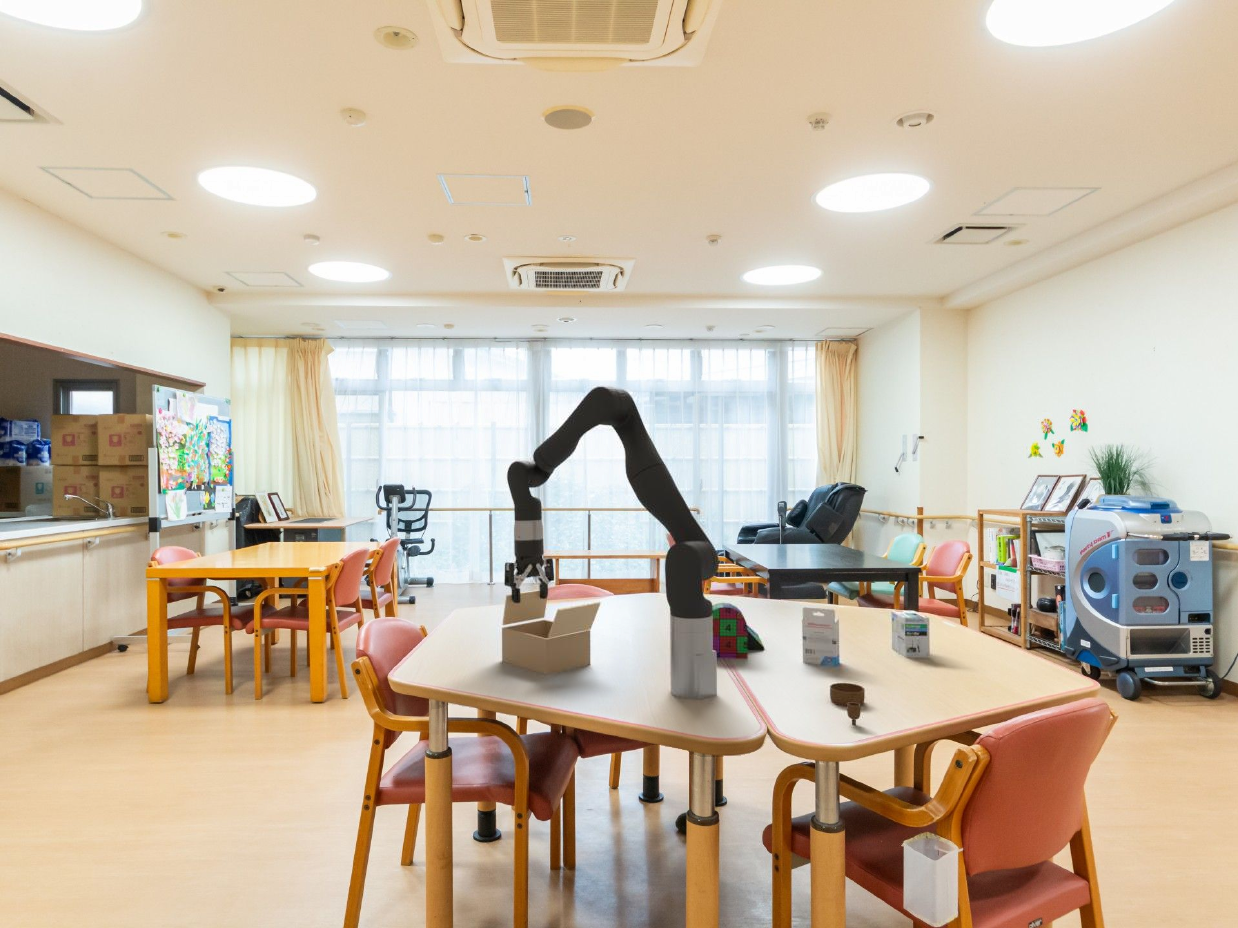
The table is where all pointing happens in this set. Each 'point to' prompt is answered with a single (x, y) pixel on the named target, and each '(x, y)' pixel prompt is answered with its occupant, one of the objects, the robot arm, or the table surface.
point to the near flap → (574, 619)
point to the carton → (544, 647)
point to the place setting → (848, 698)
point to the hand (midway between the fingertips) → (530, 600)
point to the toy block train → (732, 633)
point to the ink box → (820, 637)
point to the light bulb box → (910, 634)
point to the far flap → (524, 607)
